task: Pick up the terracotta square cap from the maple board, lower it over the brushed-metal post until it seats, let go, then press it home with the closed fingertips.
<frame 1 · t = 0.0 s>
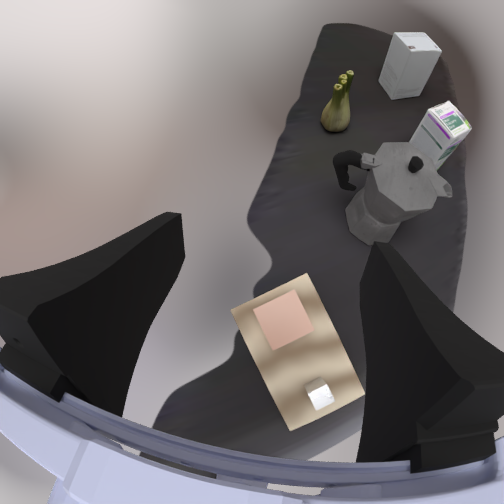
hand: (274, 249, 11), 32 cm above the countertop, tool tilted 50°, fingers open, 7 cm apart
maple board: (299, 354, 40), on the countertop
fennel bulb: (334, 125, 49), on the countertop
coffeepot: (365, 216, 44), on the countertop
terracotta cap: (282, 320, 41), point 1 cm above the countertop, touching maple board
skincare box: (398, 90, 50), on the countertop
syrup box: (417, 165, 46), on the countertop
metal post: (316, 388, 38), resting on maple board
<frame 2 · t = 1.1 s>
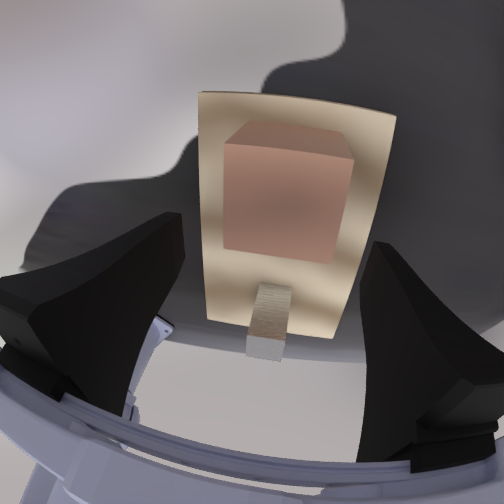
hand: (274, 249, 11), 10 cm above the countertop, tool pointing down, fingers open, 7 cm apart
maple board: (283, 233, 22), on the countertop
terracotta cap: (290, 168, 18), point 1 cm above the countertop, touching maple board
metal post: (274, 295, 25), resting on maple board
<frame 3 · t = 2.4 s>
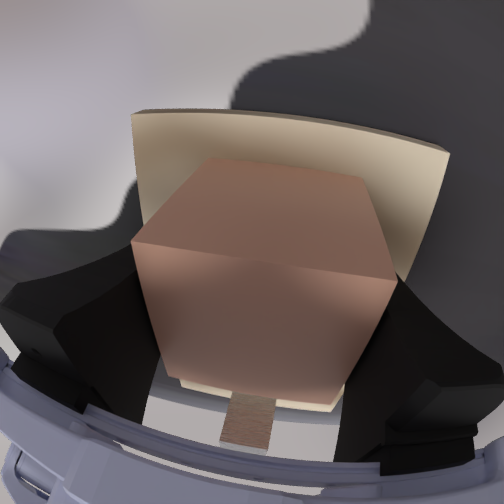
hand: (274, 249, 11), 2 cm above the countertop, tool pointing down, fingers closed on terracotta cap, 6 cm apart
maple board: (269, 308, 16), on the countertop
terracotta cap: (277, 231, 12), point 1 cm above the countertop, touching gripper, maple board
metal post: (259, 375, 18), resting on maple board
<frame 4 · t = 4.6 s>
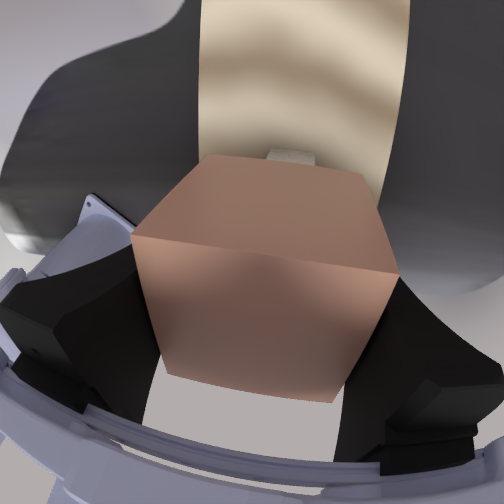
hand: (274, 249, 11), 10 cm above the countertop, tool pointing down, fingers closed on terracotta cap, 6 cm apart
maple board: (300, 81, 16), on the countertop
terracotta cap: (277, 228, 12), point 9 cm above the countertop, touching gripper
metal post: (291, 168, 18), resting on maple board
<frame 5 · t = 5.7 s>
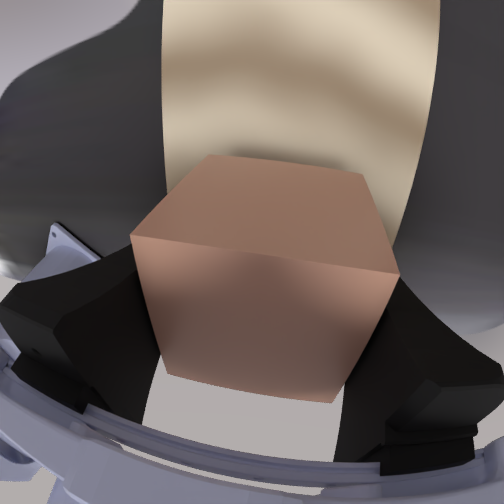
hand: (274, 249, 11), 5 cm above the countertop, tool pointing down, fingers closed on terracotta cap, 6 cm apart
maple board: (295, 85, 12), on the countertop
terracotta cap: (277, 229, 12), point 4 cm above the countertop, touching gripper
when the fingers open (3 cm above the countertop, at t = 6.8 s): terracotta cap stays where it is, resting on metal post.
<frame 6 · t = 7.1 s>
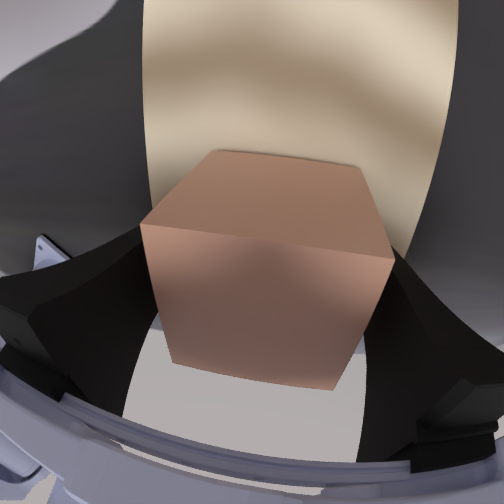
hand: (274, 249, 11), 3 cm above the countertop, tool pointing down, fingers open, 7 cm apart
maple board: (294, 87, 10), on the countertop
terracotta cap: (279, 222, 12), point 1 cm above the countertop, touching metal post
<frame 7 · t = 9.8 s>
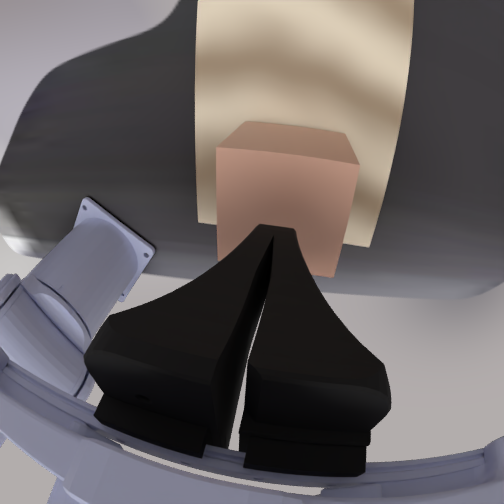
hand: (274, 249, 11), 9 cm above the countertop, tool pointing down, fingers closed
maple board: (300, 81, 15), on the countertop
terracotta cap: (290, 171, 17), point 1 cm above the countertop, touching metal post
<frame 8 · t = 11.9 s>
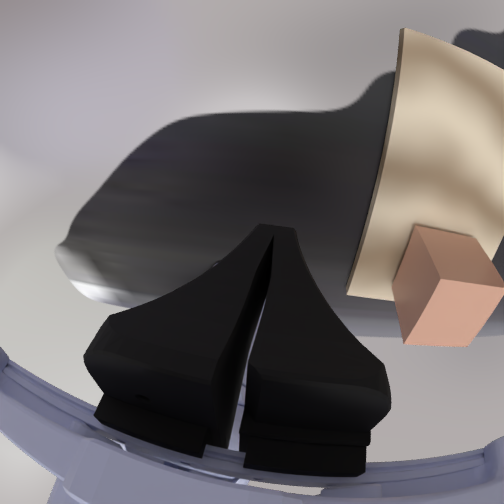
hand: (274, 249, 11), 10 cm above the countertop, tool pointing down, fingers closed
maple board: (451, 191, 17), on the countertop
terracotta cap: (434, 263, 19), point 1 cm above the countertop, touching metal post
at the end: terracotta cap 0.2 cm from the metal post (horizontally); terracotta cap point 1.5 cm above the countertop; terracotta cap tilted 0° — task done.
